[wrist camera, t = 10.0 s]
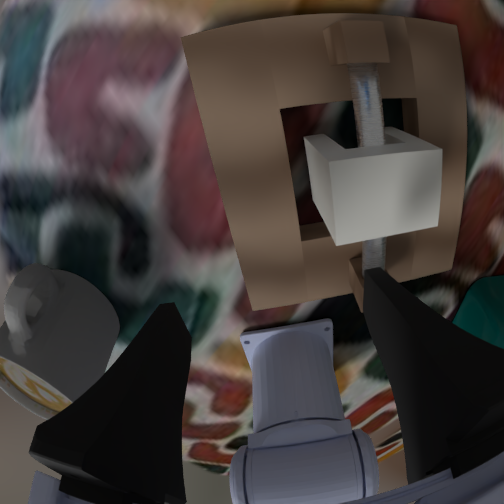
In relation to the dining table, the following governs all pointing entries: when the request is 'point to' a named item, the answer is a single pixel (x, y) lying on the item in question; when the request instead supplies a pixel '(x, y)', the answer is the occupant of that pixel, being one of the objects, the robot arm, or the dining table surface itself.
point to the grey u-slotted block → (375, 186)
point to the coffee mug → (54, 338)
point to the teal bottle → (484, 310)
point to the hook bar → (368, 138)
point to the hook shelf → (314, 92)
